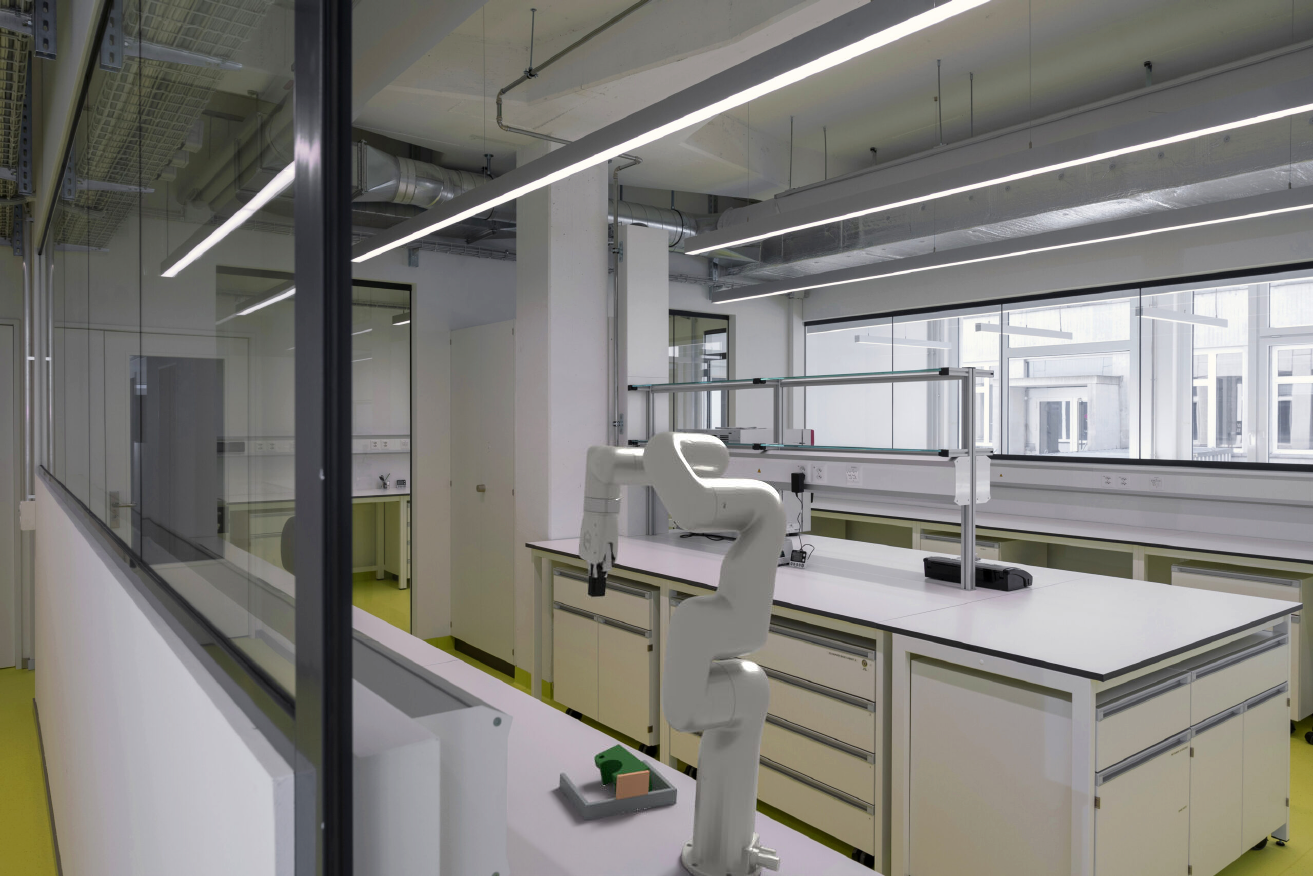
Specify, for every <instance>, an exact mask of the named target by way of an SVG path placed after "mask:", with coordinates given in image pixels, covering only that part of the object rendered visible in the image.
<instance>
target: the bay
mask: <svg viewBox="0 0 1313 876" xmlns="http://www.w3.org/2000/svg"><path fill="white" fill-rule="evenodd" d="M641 761H642V762H643V763H644V764H646V765H647V766H648V767H649V768H650V772H649V771H648V770H646V771H640V772H634V773H628V774H622V775H617V786H616V795H615V797H614V798H613V797H611V798H608V799H607V798H605V799H603V800H602V799H601V800H596V801H589V800H587V799H586V797H585V796H584V795H583V794H582V793H581V791H580V790H579V789H578V787H577V786H576V785H575V784H574V782H573V781H572V780H571V779H570V778H569V777H568V776H567V774H566V773H565V772H561V773H559V786H558V787H559V788H560V790H561V791H562V793H563V794H564V793H565V794H566V795H567V796H566V795H565V794H564V795H565V796H566V797H567V798H568V800H569V801H570V803H571V804H572V805H573V807H574V808H575V809H576V810H577V811H578V813H579V814H580V815H581V817H582V818H583V819H584V820H585V821H588V820H593V819H597V818H598V819H599V818H604V817H609V816H614V815H620V814H619V813H621V814H624V813H623V812H626V813H629V811H631V812H634V811H633V810H637V809H638V810H637V811H640V810H639V809H642V810H645V809H644V808H647V809H652V808H657V806H658V807H662V806H667V805H666V804H668V805H672V804H671V803H674V804H677V797H678V788H677V787H675V785H673V783H671V782H670V780H668V779H667V778H666V777H665V776H664V775H662V773H660V772H659V771H658V770H657V769H656V768H655V767H654V766H653V765H652V764H651V763H649V761H648V760H646V759H642V760H641ZM649 773H650V774H651V780H652V786H653V787H655V789H657V790H653V791H651V792H648V788H649ZM649 807H650V808H649ZM651 807H652V808H651Z"/></svg>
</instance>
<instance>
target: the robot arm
mask: <svg viewBox="0 0 1313 876" xmlns="http://www.w3.org/2000/svg"><path fill="white" fill-rule="evenodd" d="M585 458H586V460H585V473H584V474H585V476H584V490H583V491H584V494H583V507H582V508H583V509H582V513H583V516H582V520H581V526H580V532H579V533H580V534H579V543H578V555H579V557H580V558H581V559H582V560H584V561H585V562H586V563H587V565H588V566H587V568H588V569H587V570H588V571H587V573H588V582H587V595H588V596H589V597H591V598H594V597H595V598H597V597H598V598H601V597H605V595H606V586H607V577H608V572H611V571H612V570H613V567H612V565H613V564H615V563H616V562H617V560H618V551H619V517H618V516H619V515H621V502H622V486H643V487H644V486H647V487H649V486H650V487H651V486H652V488H653V489H654V491H655V493H656V494H657V496H658V498H659V499H660V501H661V502H662V504H663V506H664V508H665V509H666V511H667V512H668V514H669V517H671V519H672V520H673V522H674V523H675V524H676V525H677V526H678V527H679V528H680V529H682V530H684V531H685V532H689V533H692V534H693V533H695V534H703V533H705V534H706V533H708V534H710V533H733V532H735V533H738V536H737V538H735V540H734V541H733V542H732V544H730V546H729V548H728V550H727V551H726V553H725V555H724V557H723V560H722V562H721V564H720V570H719V571H720V572H719V581H718V586H717V588H716V591H715V593H713V594H707V595H697V596H692V597H688V598H686V599H683V600H682V601H681V602H680V603H678V605H677V606H676V607H675V608H674V610H673V613H672V614H671V617H670V620H669V623H668V628H667V629H668V630H667V635H666V636H667V637H666V644H665V652H664V660H663V661H664V662H663V668H662V669H663V670H662V678H661V687H660V689H661V690H660V699H661V700H660V702H661V703H660V704H661V710H662V714H663V717H664V719H665V721H666V723H667V724H668V725H669V727H670V728H672V729H673V730H674V731H676V732H679V733H683V734H684V733H685V734H691V733H697V732H702V731H703V733H702V735H701V738H700V741H699V746H698V752H697V770H696V781H695V782H696V783H695V799H694V800H695V801H694V813H693V815H694V816H693V817H694V818H693V828H692V829H693V830H692V831H693V832H692V833H693V834H692V838H691V839H689V840H688V841H687V842H686V843H684V845H683V846H682V849H681V861H682V864H683V866H684V868H685V869H687V871H688V872H689V873H690V874H692V875H693V876H759V875H760V874H761V873H762V870H763V868H765V869H766V870H770V871H773V872H777V873H778V872H779V870H780V865H781V857H777V849H775V848H771V847H766V846H763V844H761V843H760V833H757V832H756V831H755V830H756V829H755V828H756V813H757V799H758V784H759V783H758V782H759V770H760V769H759V767H760V757H761V745H762V737H763V730H764V726H765V723H766V719H767V715H768V711H769V707H770V701H771V685H770V680H769V678H768V676H767V674H766V672H765V671H764V669H763V668H762V667H761V666H760V665H758V664H757V663H755V662H754V661H751V660H749V659H742V658H741V659H740V658H737V657H744V656H749V655H753V654H756V653H758V652H759V651H761V650H763V648H765V645H766V642H767V639H768V636H769V631H770V624H771V618H772V617H771V616H772V610H773V601H774V595H775V593H774V592H775V586H776V578H777V577H776V576H777V571H778V567H779V561H780V557H781V555H782V552H783V548H784V543H785V541H786V535H787V530H788V529H787V527H788V519H787V518H788V517H787V510H786V506H785V504H784V501H783V499H782V497H781V495H780V494H779V493H778V491H777V490H776V489H775V488H774V487H772V485H770V484H768V483H767V482H764V481H762V480H758V479H753V478H747V477H746V478H745V477H722V476H723V475H724V474H725V473H726V471H727V470H728V468H729V465H730V453H729V449H728V447H727V446H726V445H725V443H724V442H723V441H722V440H721V439H719V438H718V437H716V436H714V435H711V434H708V433H701V432H700V433H699V432H683V431H680V432H679V431H663V432H658V433H656V434H655V435H652V437H650V439H649V440H648V441H647V443H646V444H645V447H641V446H640V447H636V446H635V447H634V446H632V447H631V446H613V445H597V444H596V445H591V446H590V447H588V449H587V451H586V457H585ZM731 658H732V659H731ZM733 658H734V659H733Z"/></svg>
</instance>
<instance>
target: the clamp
mask: <svg viewBox="0 0 1313 876" xmlns="http://www.w3.org/2000/svg"><path fill="white" fill-rule="evenodd" d="M593 758H594V763H595V767H596V768H597V769H598V770H599V773H600V778H601V784H603V785H605V786H608V785H610V784H612V783H613V789H614V794H615V796H616V786H617V775H622V774H628V773H634V772H640V771H646V770H648V771H649V772H650V768H649V767H648V766H647V765H646V764H644V763H643V762H642V761H643V760H640V759H639V757H636V755H634V754H632V753H631V752H630V751H628V749H626V748H625V747H623V746H622V745H621V744H616V745H614V746H612V747H610V748H607V749H606V750H603V751H601V752H599V753H597V754H595V756H594V757H593ZM603 785H602V786H603ZM651 791H654V786H653V784H652V780H651V774H650V773H649V788H648V792H651Z"/></svg>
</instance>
